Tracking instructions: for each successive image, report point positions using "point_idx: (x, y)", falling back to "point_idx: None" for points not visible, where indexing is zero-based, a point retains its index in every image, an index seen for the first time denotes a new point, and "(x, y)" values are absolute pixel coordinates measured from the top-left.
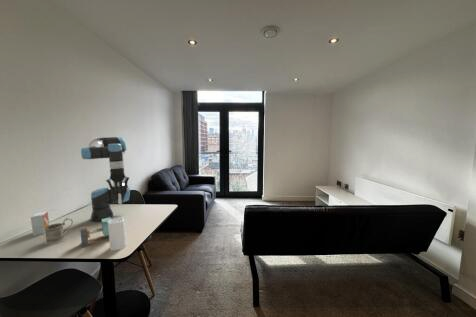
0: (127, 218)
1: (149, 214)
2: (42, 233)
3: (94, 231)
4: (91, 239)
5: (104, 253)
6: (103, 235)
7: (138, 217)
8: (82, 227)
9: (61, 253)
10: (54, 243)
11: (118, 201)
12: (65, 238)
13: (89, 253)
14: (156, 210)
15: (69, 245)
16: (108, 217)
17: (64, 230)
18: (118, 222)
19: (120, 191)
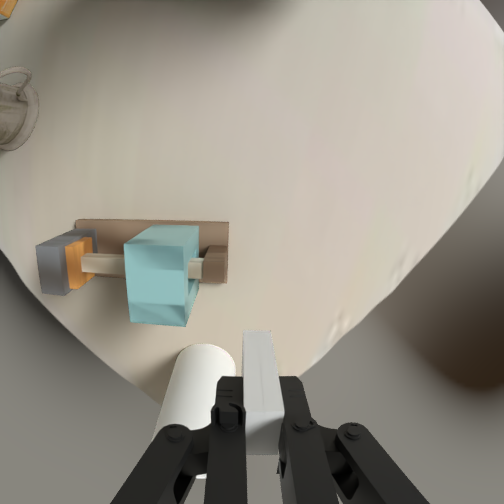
0: (329, 40)
1: (438, 90)
2: (2, 18)
3: (105, 271)
4: (109, 229)
5: (156, 379)
6: (160, 221)
7: (383, 78)
8: (44, 249)
9: (31, 263)
10: (7, 149)
11: (242, 364)
12: (35, 117)
13: (110, 341)
14: (474, 71)
15: (44, 206)
16: (169, 245)
17: (16, 96)
18: (198, 477)
19: (281, 479)
